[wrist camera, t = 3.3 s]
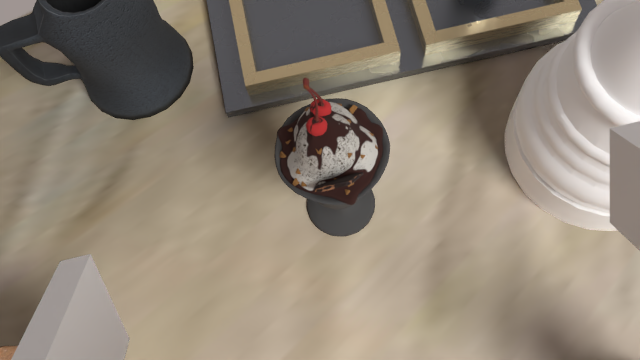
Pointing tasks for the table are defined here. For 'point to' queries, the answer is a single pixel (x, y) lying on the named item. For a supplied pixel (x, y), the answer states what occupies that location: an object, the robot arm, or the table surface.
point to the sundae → (333, 161)
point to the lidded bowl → (7, 352)
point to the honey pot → (577, 116)
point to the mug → (104, 53)
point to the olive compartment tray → (367, 41)
